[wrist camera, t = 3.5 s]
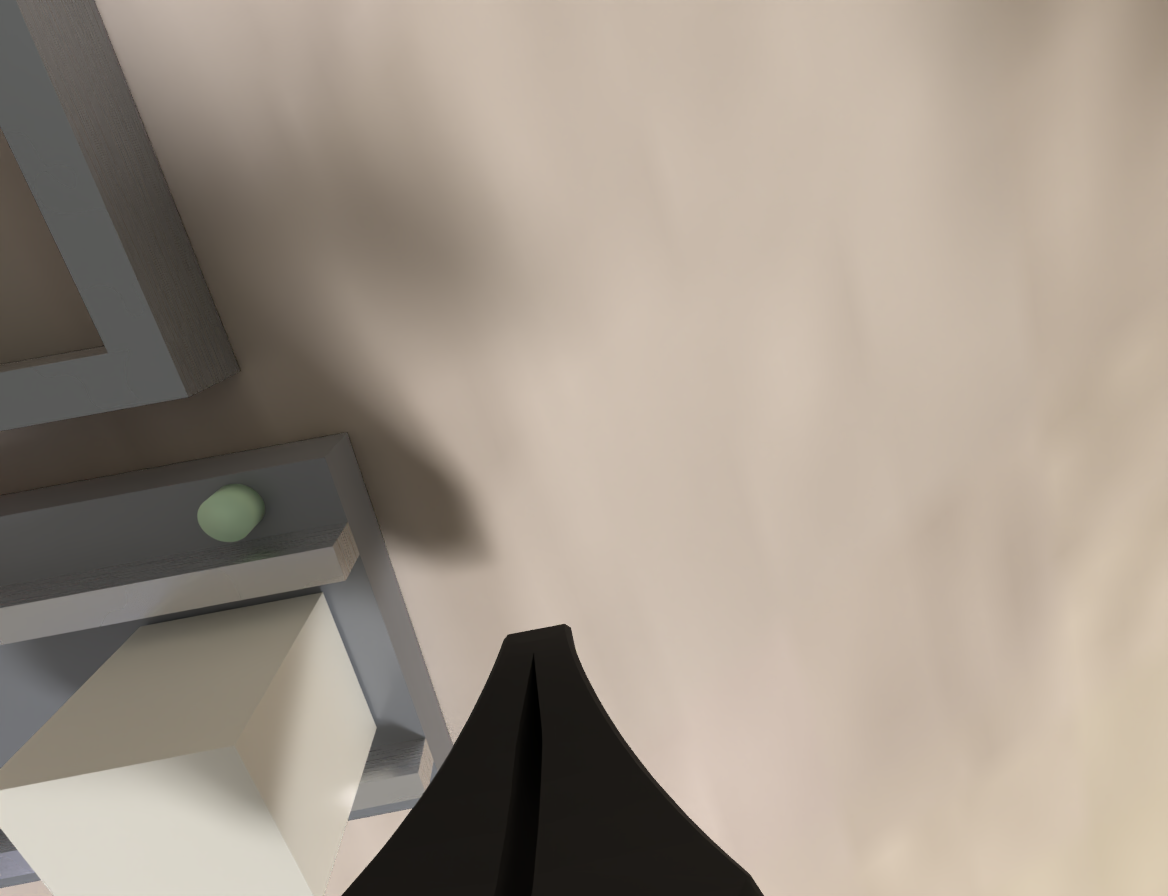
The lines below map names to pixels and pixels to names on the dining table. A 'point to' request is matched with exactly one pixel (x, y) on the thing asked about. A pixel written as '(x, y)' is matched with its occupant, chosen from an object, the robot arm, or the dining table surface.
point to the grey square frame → (100, 225)
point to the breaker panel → (210, 591)
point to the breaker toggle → (198, 761)
